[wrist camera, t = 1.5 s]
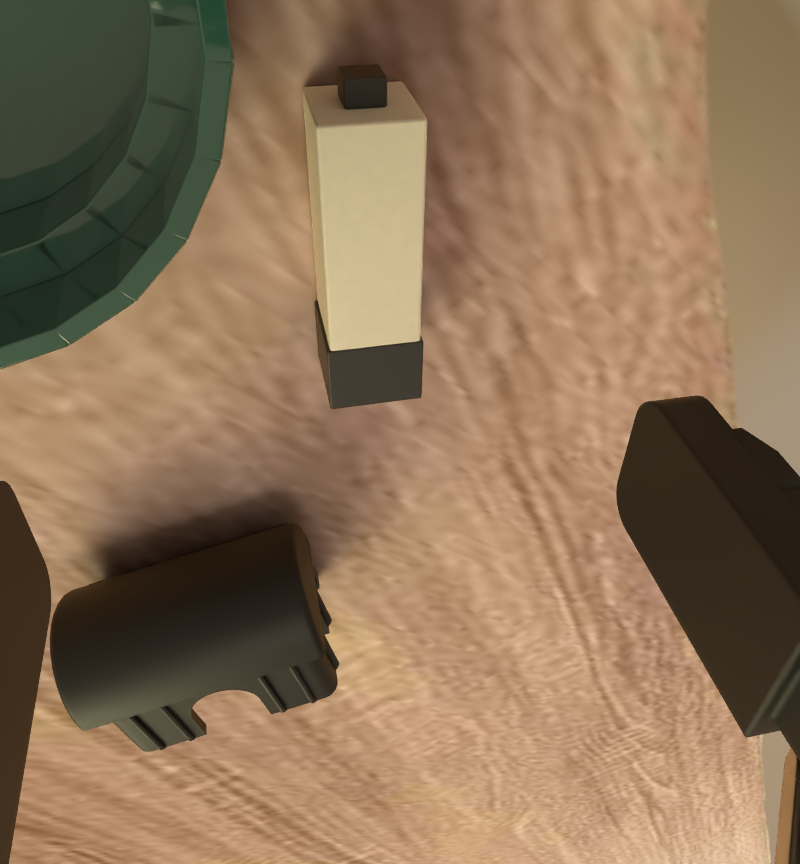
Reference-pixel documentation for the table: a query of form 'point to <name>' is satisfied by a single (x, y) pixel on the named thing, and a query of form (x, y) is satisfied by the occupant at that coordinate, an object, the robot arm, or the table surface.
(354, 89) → the marker
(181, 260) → the table surface
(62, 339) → the bowl
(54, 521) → the table surface
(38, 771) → the table surface
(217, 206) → the table surface
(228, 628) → the end cap
